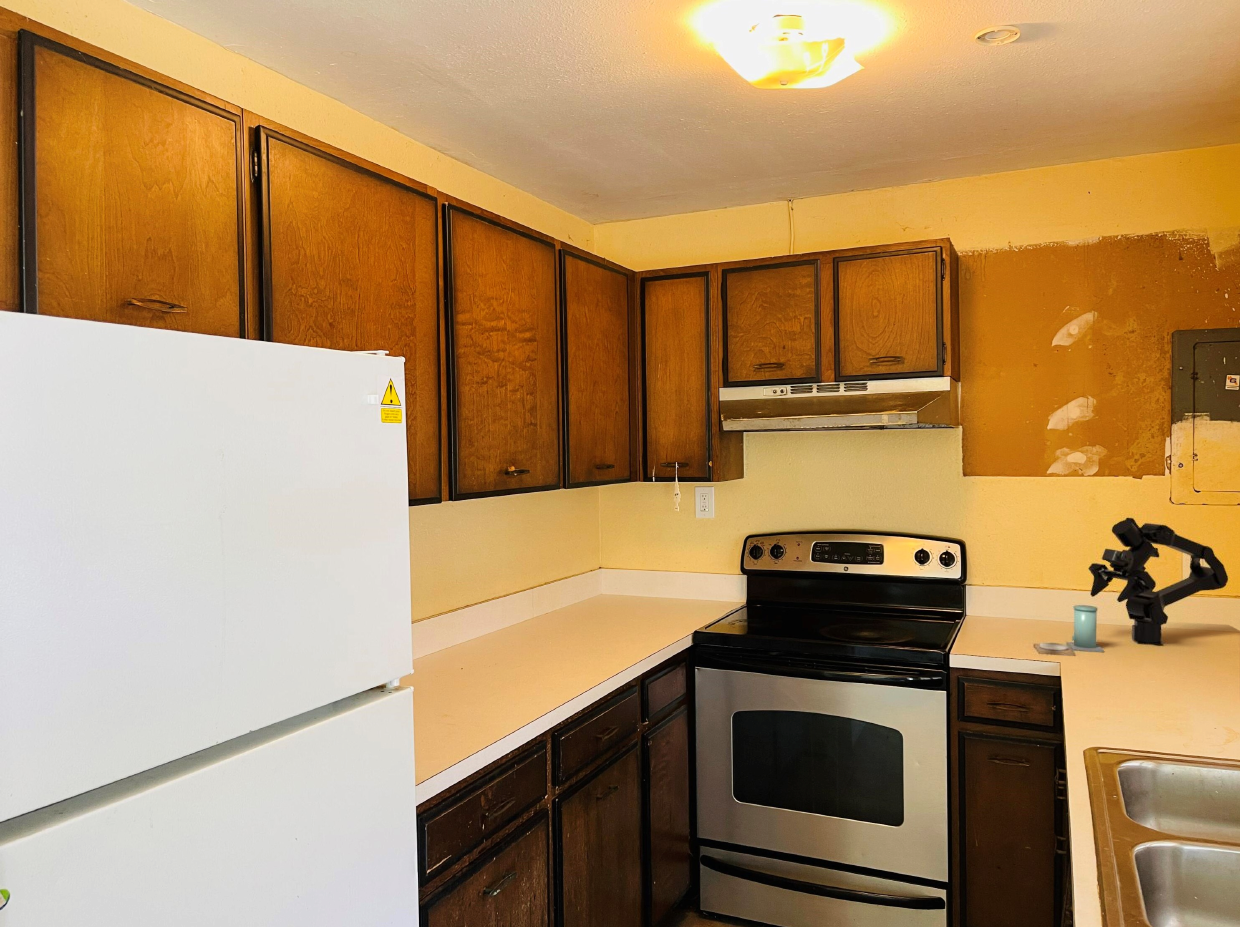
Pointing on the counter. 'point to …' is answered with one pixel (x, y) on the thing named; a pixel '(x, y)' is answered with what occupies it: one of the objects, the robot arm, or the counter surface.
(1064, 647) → the brown square coaster
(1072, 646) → the mat
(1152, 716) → the counter surface
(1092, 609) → the teal cylindrical jar
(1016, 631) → the counter surface
